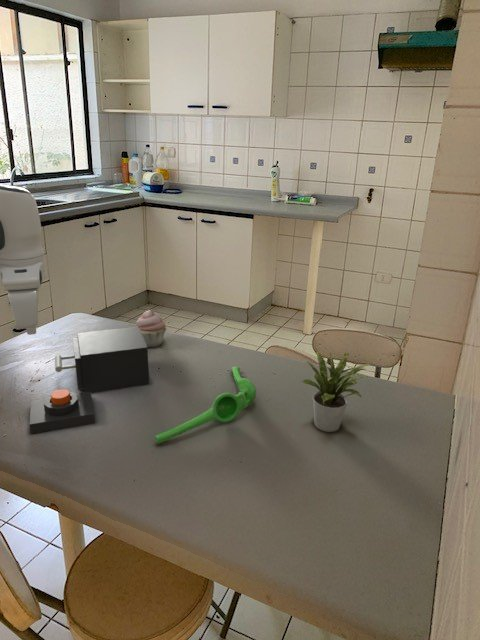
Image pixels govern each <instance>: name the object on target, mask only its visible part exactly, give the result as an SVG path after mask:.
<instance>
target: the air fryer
mask: <svg viewBox="0 0 480 640" xmlns="http://www.w3.org/2000/svg"><path fill="white" fill-rule="evenodd" d="M76 336H77V338H78V343H79V350H80V358H81V367H82V376H83V386H84V389H83V393H85V392H91V394H93V393H97V392H98V393H99V392H106V391H111V390H117V389H124V388H130V387H139V386H144V385H145V386H146V385H150V372H149V371H150V369H149V368H150V367H149V351H148V349H149V347H147V345H146V343H145V340H144V338H143V336H142V334H141V331H140V329H139V327H134V326H131V327H129V326H128V327H120V328H113V329H112V328H111V329H103V330H94V331H93V330H92V331H84V332H77V335H76Z"/></svg>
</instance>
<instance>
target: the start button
mask: <svg viewBox="0 0 480 640" xmlns="http://www.w3.org/2000/svg"><path fill="white" fill-rule="evenodd" d="M70 392H71V391H70V390H68V389H63V388H62V389H56V390H54V391H53V392H51V394H50V395H51V401H52V404H53V405H64V404H66V403H68V402H70Z"/></svg>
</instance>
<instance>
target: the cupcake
mask: <svg viewBox="0 0 480 640" xmlns="http://www.w3.org/2000/svg"><path fill="white" fill-rule="evenodd" d="M133 327H139V329H140V331H141V334H142V336H143V338H144V340H145V343H146V345H147V347H148V348H155V347H156V348H157V347H159V346H161V344H162V343H163V341H164V337H165V333H166V331H167V329H168V328H167V327H168V325H167V324H166V323H165V320H164V319H163V318H162V317H161V315H160V314H158V313H157V312H155V311H153V310H152V309H148V310H146V311H143V314H142V315H141V316H139V318H137V321H136V324H135V325H134V326H133Z"/></svg>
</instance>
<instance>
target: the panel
mask: <svg viewBox="0 0 480 640" xmlns="http://www.w3.org/2000/svg"><path fill="white" fill-rule="evenodd" d="M69 392H70V402H68V403H66V404H64V405H53V404H52V401H51V394H49V395H47V396H46V397H45V398H40V399H33V400H30V409H29V424H28V425H29V431H30V434H31V435H32V434H39V433H44V432H51V431H55V430H56V431H57V430H61V429H62V430H63V429H66V428H67V429H68V428H73V427H74V428H75V427H79V426H86V425H90V424H95V423H96V420H95V419H96V418H95V417H96V416H95V411H94V403H93V397H92V393H91V392H85V393H84V392H79V393H75V392H74V391H69Z"/></svg>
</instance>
